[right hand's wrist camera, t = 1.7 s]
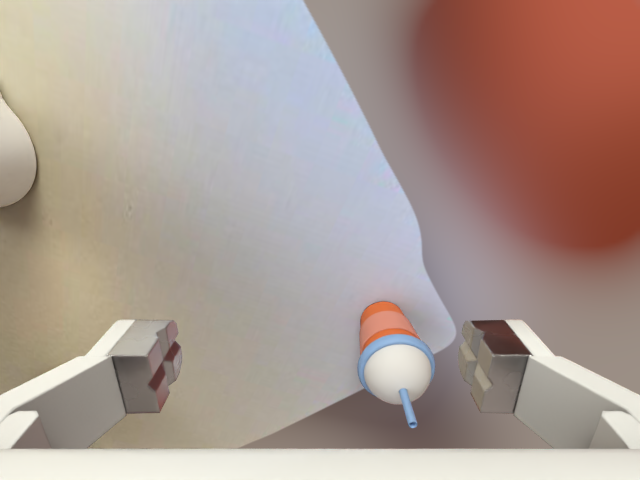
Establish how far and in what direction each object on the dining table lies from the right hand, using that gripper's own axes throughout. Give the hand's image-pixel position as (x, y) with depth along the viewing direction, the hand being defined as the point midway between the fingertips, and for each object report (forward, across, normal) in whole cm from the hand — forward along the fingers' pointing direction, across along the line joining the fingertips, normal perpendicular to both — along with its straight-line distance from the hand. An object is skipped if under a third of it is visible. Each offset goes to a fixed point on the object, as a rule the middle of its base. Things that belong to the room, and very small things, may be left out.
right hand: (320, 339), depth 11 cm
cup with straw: (+36, +9, -24) cm, 44 cm away
